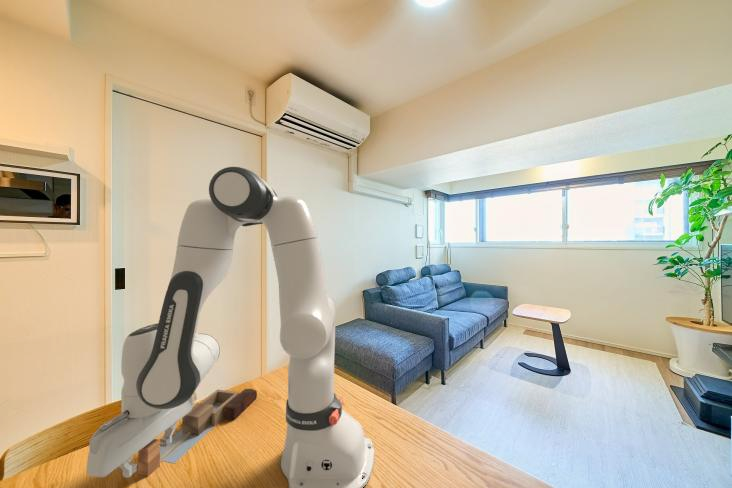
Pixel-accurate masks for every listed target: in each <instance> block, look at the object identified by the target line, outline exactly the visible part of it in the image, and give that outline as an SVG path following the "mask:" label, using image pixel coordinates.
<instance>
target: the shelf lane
mask: <svg viewBox="0 0 732 488" xmlns="http://www.w3.org/2000/svg"><path fill="white" fill-rule="evenodd" d="M239 393H240V392H239V391H234V390H226V389H219V388H218V389H216V390H215V391H213V392H212V393H211V394H210V395H208V396H207V397H205V398H204V399H203V400H201V401H200V402H199V403H203V404H209V405H213V412H212V424H211V425H210V426H209V427H208V428H207V429H205V430H204V431H203V432H202V433H201V434H200V435H199V436H196V435H191V436H189V437H188V438H187V439H186V440H185V441H184V442H182V443H181V444H180V445H179V446H178V447H177V448H176V449H174V450H173V451H172V452H171V453H170V454H169V455H168V456H166V457H165V458H164V459H163V460H162V461H161V462H164V463H165V462H166V463H170V464H176V463H177V462H178V461H179V460H180V459H181V458H182V457H184V455H185V454H186V453H188V452H189V451H190V450H191V449H192V448H193V447H194V446H196V444H198V443H199V441H201V439H203V438H204V436H206V435H207V434H208V433H209V432H210V431H211V430H212V429H213V428H215V426H217V425H218V424H219V423H220V422H221V421H222V420H224V419H223V408H224V406H225V405H226V404H227V403H228V402H230V401H231V400H232V399H233V398H235V397H236V396H237V395H238V394H239ZM185 435H186V434H184V433H182V428H181V429H180V430H178V432H176V433H175V434H173V435H172V442H171V443H170V444H169V445H167V446H166V447H161V446H160V456H161V455H162V454H163V453H165V452H166V451H167V450H168V449H169V448H171V447H172V446H173V445H174V444H175V443H176V442H178V441H179V440H180V439H181V438H182V437H184V436H185Z"/></svg>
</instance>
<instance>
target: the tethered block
mask: <svg viewBox="0 0 732 488" xmlns="http://www.w3.org/2000/svg"><path fill="white" fill-rule="evenodd" d="M212 412H213V405H209V404H203V403H200V402H198V403H196V404H194V406H193V408H192V410H191V412H189V413H188V414H187V415H185V416H184V417H183V418H181V419H182V420H181V421H182V428H181V429H182V433H184V434H186V435H185V436H184V437H182V438H181V439H180V440H179V441H178V442H176V443H175V444H174V445H173V446H172V447H171V448H169V449H168V450H167V451H166V452H165V453H163V454H162V455H161V456H160V443H161V442H160V439H156V438H155V439H154V440H153V441H151V442H150V443H149V444H147V445H146V446H145V447H143V448H142V449H141V450H140V451H138V452H137V454H138V456H137V457H138V458H137V459H138V461H137V463H138V464H137V467H138V469H137V471H138V475H141V476H145V477H149V476H150V475H151V474H152V473H154V472H155V471H156V470H157V469H158V468H159V467H160V466H161V462H163V461H162V460H163V459H164V458H165V457H166V456H168V455H169V454H170V453H171V452H172V451H173V450H174V449H176V448H177V447H178V446H179V445H180V444H181V443H182V442H184V441H185V440H186V439H187V438H188V437H189V436H191V435H196V436H199V435H200V434H201V433H202V432H203V431H204V430H205V429H207V428H208V427H209V426H210V425H211V424H212Z"/></svg>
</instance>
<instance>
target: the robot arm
mask: <svg viewBox="0 0 732 488" xmlns="http://www.w3.org/2000/svg"><path fill="white" fill-rule="evenodd" d="M208 194H209V197H210V198H207V199H206V198H205V199H203V198H202V199H197V200H195V201H192V202H191V203H190V204H189V205H188V206H187V208H186V210H185V213H184V216H183V219H182V220H181V223H180V228H179V231H178V232H179V233H178V237H177V246H176V251H175V252H176V253H175V259H174V264H173V267H172V273H171V276H170V279H169V283H168V285H167V289H166V292H165V295H164V299H163V303H162V307H161V311H160V315H159V320H158V323H154V324H153V323H152V324H149V325H147V326H143V327H141V328H138V329H136V330H135V331H133V332H131V333H130V334H128V335H127V336H126V338H125V339H124V342H123V346H122V350H121V351H122V352H121V361H120V362H121V363H120V364H121V365H120V369H121V375H122V377H123V384H122V387H121V400H120V401H121V413H120V414H118V415H116V416H115V417H114V418H112V419H110V420H109V421H106V422H104V423H103V424H102V425H100V426H99V427H98V429H97V430H96V431H95V432H94V433H93V434H92V436H90V438H89V442H88V444H89V445H88V447H89V449H88V455H87V462H86V474H87V475H88V476H91V477H95V478H105V477H107V476H108V475H110V474H111V473H112V472H113V471H114V470H116V469H118V468H119V469H121V470H122V478H126V479H129V478H130V477H131V476H133V475H134V474H135V473H136V472H137V471H138V469H137V467H138V464H137V463H133V462H132V457H133V456H134V455H135V454H138V451H140V450H141V449H142V448H143V447H145V446H146V445H147V444H149V443H150V442H151V441H153V440H154V439H156V438H158V437H159V436H160V435H162V434H163V436H162V437H161V438H160V439H159V440H160V446H161V447H166V446H167V445H169V444H170V443H171V442H172V437H173V436H174V433H175V430H176V428H177V426H178V424H177V423H178V422H179V421H180V420H181V419H182V418H183V417H184V416H185V415H187V414H188V413H189V412H191V410H192V408H193V406H195V391H196V390H197V388H198V387H199V385H200V383H201V382H202V381H203V380H204V378H205V377H206V376H207V375H208V373H209V372H210V370H211V369H212V368H213V366H215V364H216V363H217V361H218V360H219V358H220V353H221V349H220V348H221V347H220V344H219V342H218V340H216V338H215V337H213V336H212V335H210V334H206V333H197V329H198V328H197V327H198V324H199V318H200V313H201V311H202V308H203V305H204V304H205V302H206V300H207V299H208V297H209V296H210V294H212V292H213V291H214V290H215V289H216V288H217V287H218V286H219V285H220V284H221V283H222V281H224V279H225V278H226V277H227V275H228V273H229V269H230V267H231V263H232V261H233V260H232V259H233V253H234V246H235V237H236V233H237V231H238V229H239V228H240V227H249V226H250V227H251V226H255V225H261V224H263V226H265V228H266V230H267V234H268V237H269V241H270V246H271V251H272V257H273V262H274V265H275V270H276V276H277V281H278V282H277V283H278V299H279V301H278V303H279V315H280V331H279V342H280V345H281V347H282V349H283V350H284V352H286V354H287V355H289V363H288V367H287V399H286V403H285V404H286V405H285V407H286V408H285V421H286V435H285V442H284V446H283V451H282V454H281V458H280V468H281V471H282V473H283V474H284V476H285V477H286V480H287V481H288V488H363V487H364V486H365V485H366V486H367V484H368V483H369V481H370V479H371V476H372V473H373V469H374V462H375V447H374V444H373V442H372V440H371V438H370V437H367V436H365V431H364V429H363V427H362V425H361V423H360V422H359V421H358V420H356V419H355V418H353V417H352V416H351V415H350V414H348V412H346V411H345V410H344V409H343V407H342V405H343V403H344V396H343V395H342V396H340V397H341V398H340V399H338V397H337V395H336V393H335V350H336V349H335V346H336V306H335V304H334V301H333V300H332V298H331V297H330V296H328V291H327V283H326V282H327V281H326V274H325V273H326V272H325V267H324V262H323V257H322V253H321V252H322V251H321V247H320V243H319V238H318V234H317V230H316V226H315V224H314V219H313V217H312V213H311V212H310V209H309V207H308V205H307V203H306V202H305V201H304V200H303V199H301V198H299V197H295V196H284V197H283V196H281V197H280V196H278V195H277V193H276V191H275V190H274V189H273V188H272V187H270V185H269V184H268V182H266V180H264V179H263V178H261V177H259V176H258V175H257V174H256V173H255V172H253V171H252V170H250V169H247V168H244V167H241V166H240V167H239V166H229V167H225V168H222V169H220V170H218V171H216V172H215V173H214V175H213V176H212V178H211V179H210V182H209V185H208ZM371 472H372V473H371ZM370 475H371V476H370ZM362 478H363V479H362ZM369 478H370V479H369ZM368 480H369V481H368ZM367 482H368V483H367ZM366 486H365V487H366ZM365 487H364V488H365Z"/></svg>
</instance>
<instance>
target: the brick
mask: <svg viewBox="0 0 732 488" xmlns="http://www.w3.org/2000/svg"><path fill="white" fill-rule="evenodd" d="M257 393H258V391H257V390H256V389H253V388H244V389H243V390H242V391H241V392H239V394H238V395H237V396H236V397H235V398H233V399H232V400H231V401H230V402H228V403H227V404H226V405H225V406H224V408H223V419H222V420H226V421H227V420H228V421H232V422H233V421H235V420H236V419H237V418H239V417H240V416H241V414H243V413H244V411H246V410H247V409H248V408H249V406H251V405H252V404H253V403H254V402H255V401H256V400H257V397H258V394H257Z"/></svg>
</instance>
